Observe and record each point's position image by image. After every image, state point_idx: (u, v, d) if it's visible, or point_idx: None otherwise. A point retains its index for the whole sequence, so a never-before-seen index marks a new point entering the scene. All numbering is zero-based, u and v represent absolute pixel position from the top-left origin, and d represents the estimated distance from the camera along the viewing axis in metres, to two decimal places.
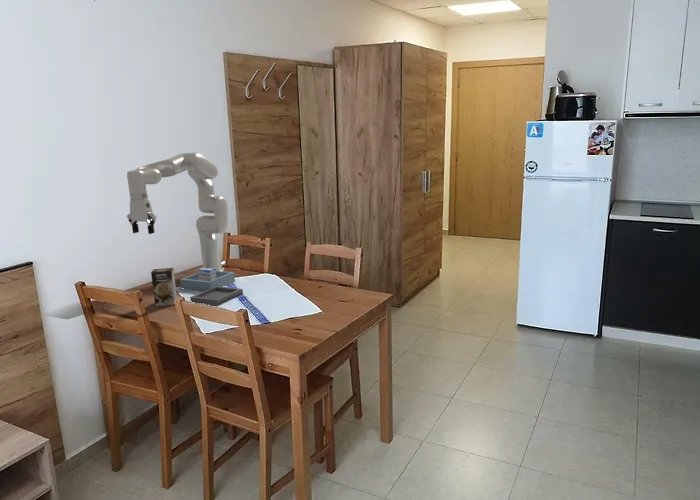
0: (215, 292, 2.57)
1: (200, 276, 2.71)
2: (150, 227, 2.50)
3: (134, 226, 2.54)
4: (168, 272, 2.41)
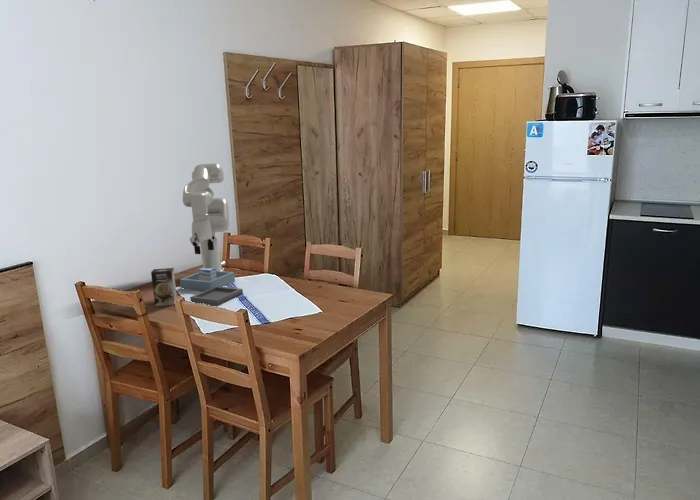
0: (215, 292, 2.57)
1: (200, 276, 2.71)
2: None
3: None
4: (168, 272, 2.41)
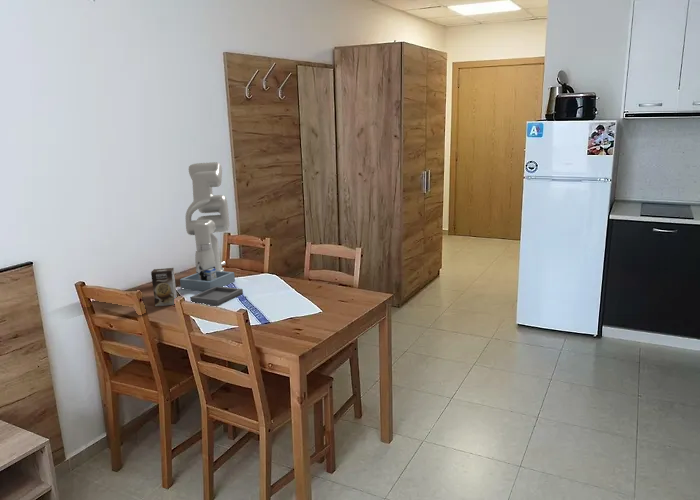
0: (215, 292, 2.57)
1: (200, 276, 2.71)
2: None
3: None
4: (168, 272, 2.41)
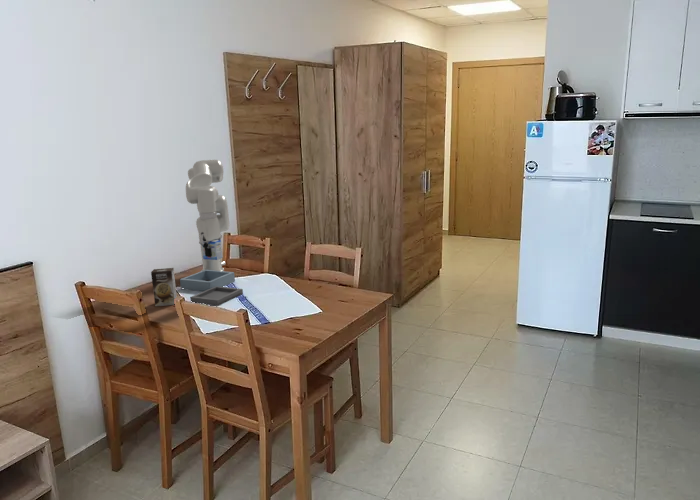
0: (215, 292, 2.57)
1: (204, 248, 2.45)
2: None
3: None
4: (168, 272, 2.41)
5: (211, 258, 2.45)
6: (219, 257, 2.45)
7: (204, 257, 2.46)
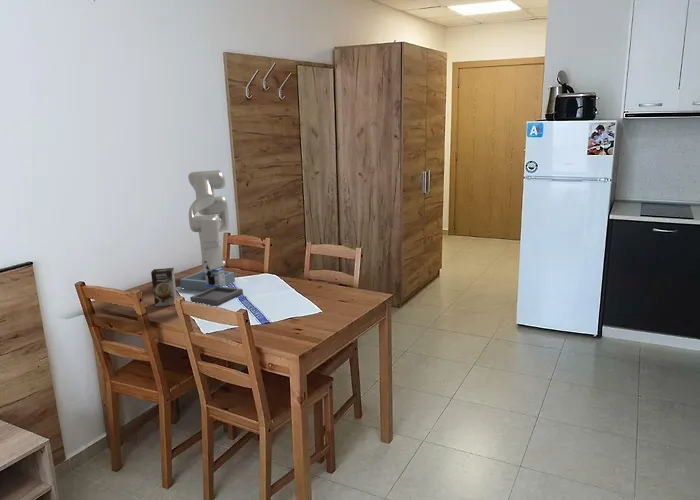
0: (215, 292, 2.57)
1: (207, 276, 2.48)
2: None
3: None
4: (168, 272, 2.41)
5: (214, 286, 2.47)
6: (222, 285, 2.48)
7: (207, 285, 2.49)
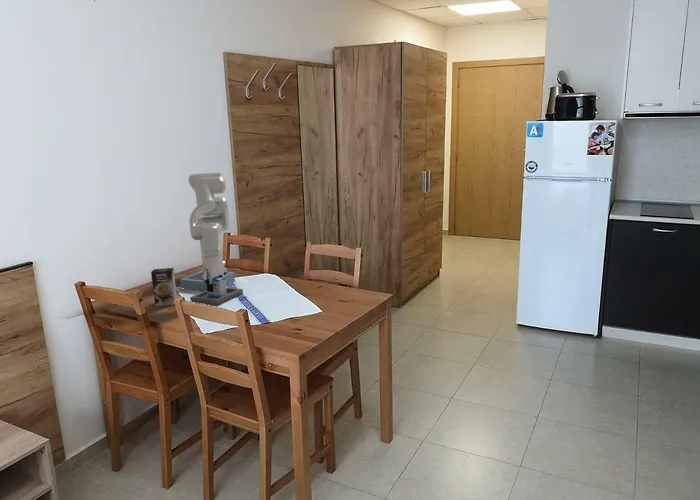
0: None
1: None
2: None
3: None
4: (168, 272, 2.41)
5: (215, 296, 2.49)
6: (223, 295, 2.49)
7: (209, 294, 2.50)
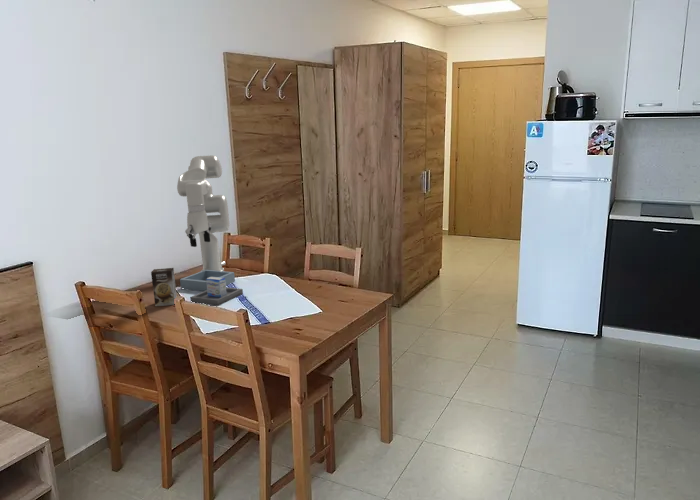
0: None
1: (208, 286, 2.49)
2: None
3: None
4: (168, 272, 2.41)
5: (215, 296, 2.49)
6: (223, 295, 2.49)
7: (209, 294, 2.50)
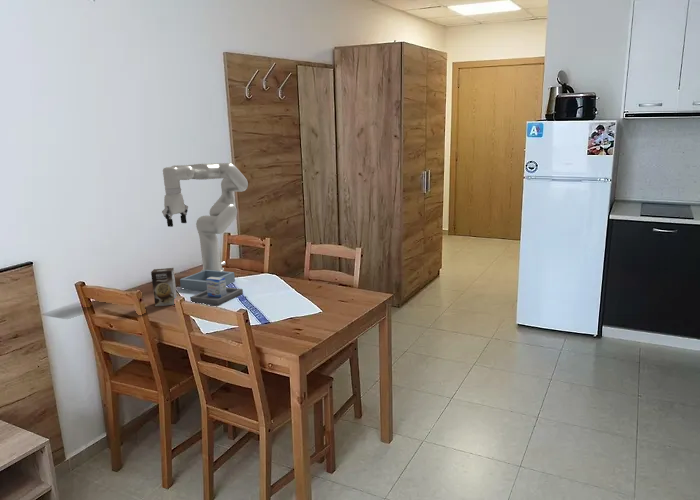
0: None
1: (208, 286, 2.49)
2: None
3: None
4: (168, 272, 2.41)
5: (215, 296, 2.49)
6: (223, 295, 2.49)
7: (209, 294, 2.50)
